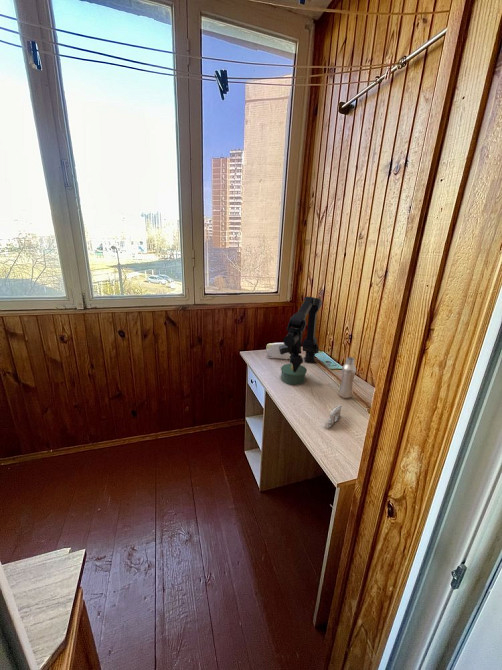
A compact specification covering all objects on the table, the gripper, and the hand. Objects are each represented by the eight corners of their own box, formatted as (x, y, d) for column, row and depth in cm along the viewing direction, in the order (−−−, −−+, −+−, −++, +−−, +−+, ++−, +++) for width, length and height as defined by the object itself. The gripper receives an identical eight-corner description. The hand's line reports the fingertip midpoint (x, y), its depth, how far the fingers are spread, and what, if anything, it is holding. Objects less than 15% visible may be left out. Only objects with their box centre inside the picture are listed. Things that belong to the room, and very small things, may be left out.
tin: (280, 373, 164) (281, 364, 162) (303, 374, 163) (304, 365, 161) (281, 384, 152) (282, 374, 150) (306, 385, 151) (307, 376, 149)
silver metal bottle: (352, 394, 144) (358, 356, 137) (351, 401, 138) (358, 362, 131) (338, 391, 146) (343, 354, 139) (337, 398, 140) (343, 360, 133)
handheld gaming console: (267, 359, 185) (291, 358, 182) (267, 361, 183) (291, 360, 179) (266, 342, 182) (290, 342, 178) (265, 344, 179) (289, 343, 176)
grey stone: (328, 429, 118) (330, 417, 116) (324, 427, 119) (325, 415, 117) (340, 416, 127) (342, 404, 125) (336, 414, 128) (338, 402, 126)
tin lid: (280, 364, 162) (281, 355, 161) (305, 366, 162) (306, 356, 160) (281, 376, 150) (282, 366, 148) (308, 377, 149) (309, 367, 147)
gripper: (279, 333, 159) (278, 360, 164) (280, 346, 141) (279, 375, 147) (300, 334, 158) (298, 361, 164) (304, 347, 141) (301, 376, 146)
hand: (293, 368), depth 155 cm, fingers open, 9 cm apart
